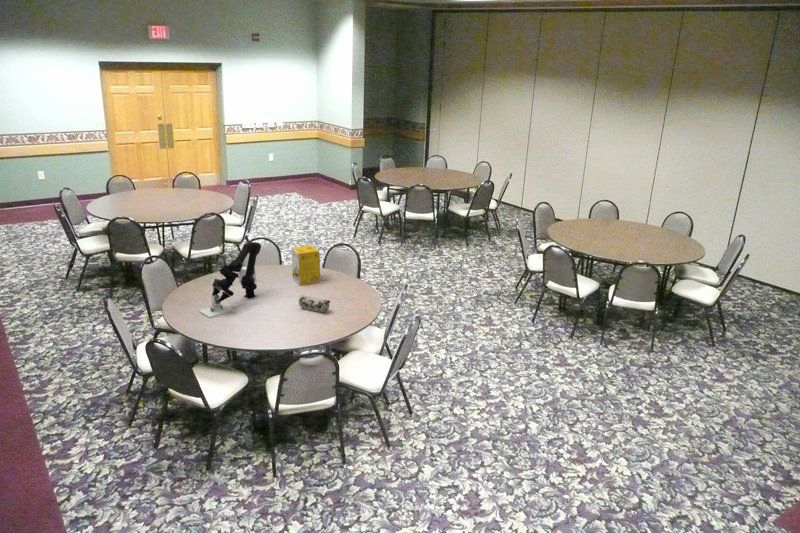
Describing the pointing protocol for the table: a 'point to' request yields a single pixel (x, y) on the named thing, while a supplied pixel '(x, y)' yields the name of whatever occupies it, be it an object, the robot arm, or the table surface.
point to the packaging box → (305, 265)
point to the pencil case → (314, 304)
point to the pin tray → (211, 313)
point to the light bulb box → (243, 272)
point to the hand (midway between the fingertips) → (215, 300)
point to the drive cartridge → (216, 302)
